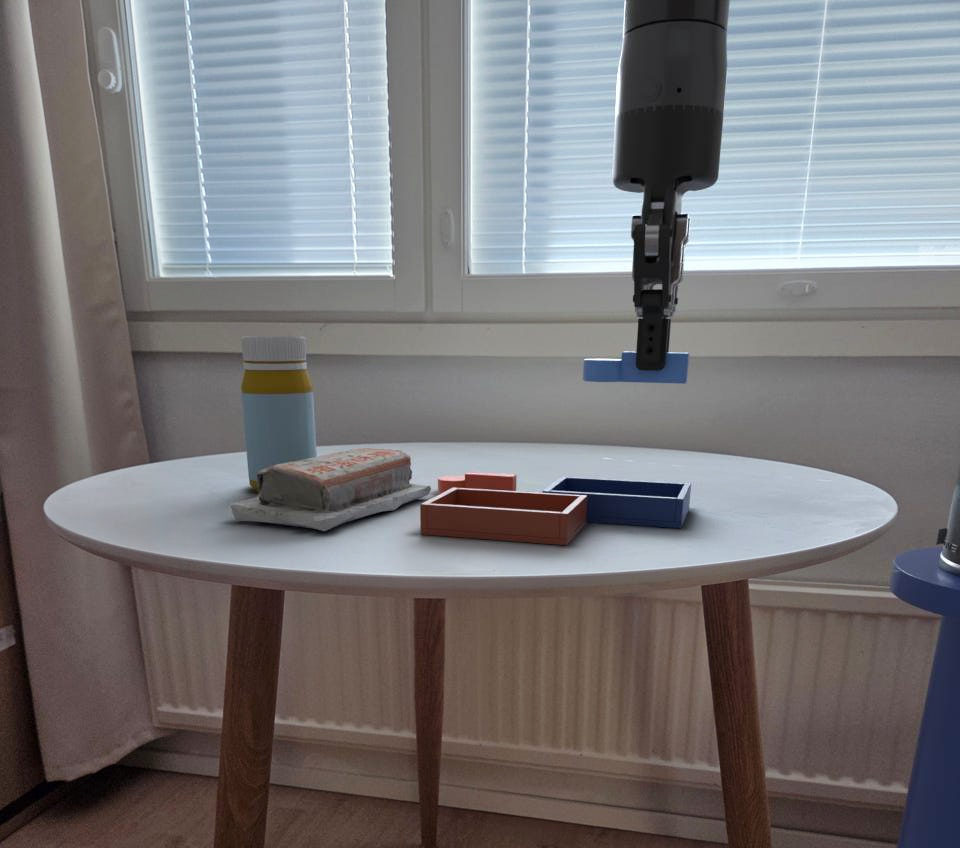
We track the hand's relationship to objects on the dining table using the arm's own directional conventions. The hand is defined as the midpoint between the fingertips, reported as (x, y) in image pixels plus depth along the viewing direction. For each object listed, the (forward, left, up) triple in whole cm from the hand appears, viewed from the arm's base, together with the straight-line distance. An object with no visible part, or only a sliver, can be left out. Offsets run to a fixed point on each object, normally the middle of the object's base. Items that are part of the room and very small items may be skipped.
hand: (651, 368), depth 67 cm
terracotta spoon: (+18, -12, -13) cm, 26 cm away
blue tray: (+3, -7, -13) cm, 15 cm away
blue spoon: (+1, 0, -1) cm, 2 cm away
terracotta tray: (+11, +2, -13) cm, 17 cm away
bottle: (+38, -9, -13) cm, 41 cm away
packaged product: (+28, -1, -13) cm, 31 cm away
